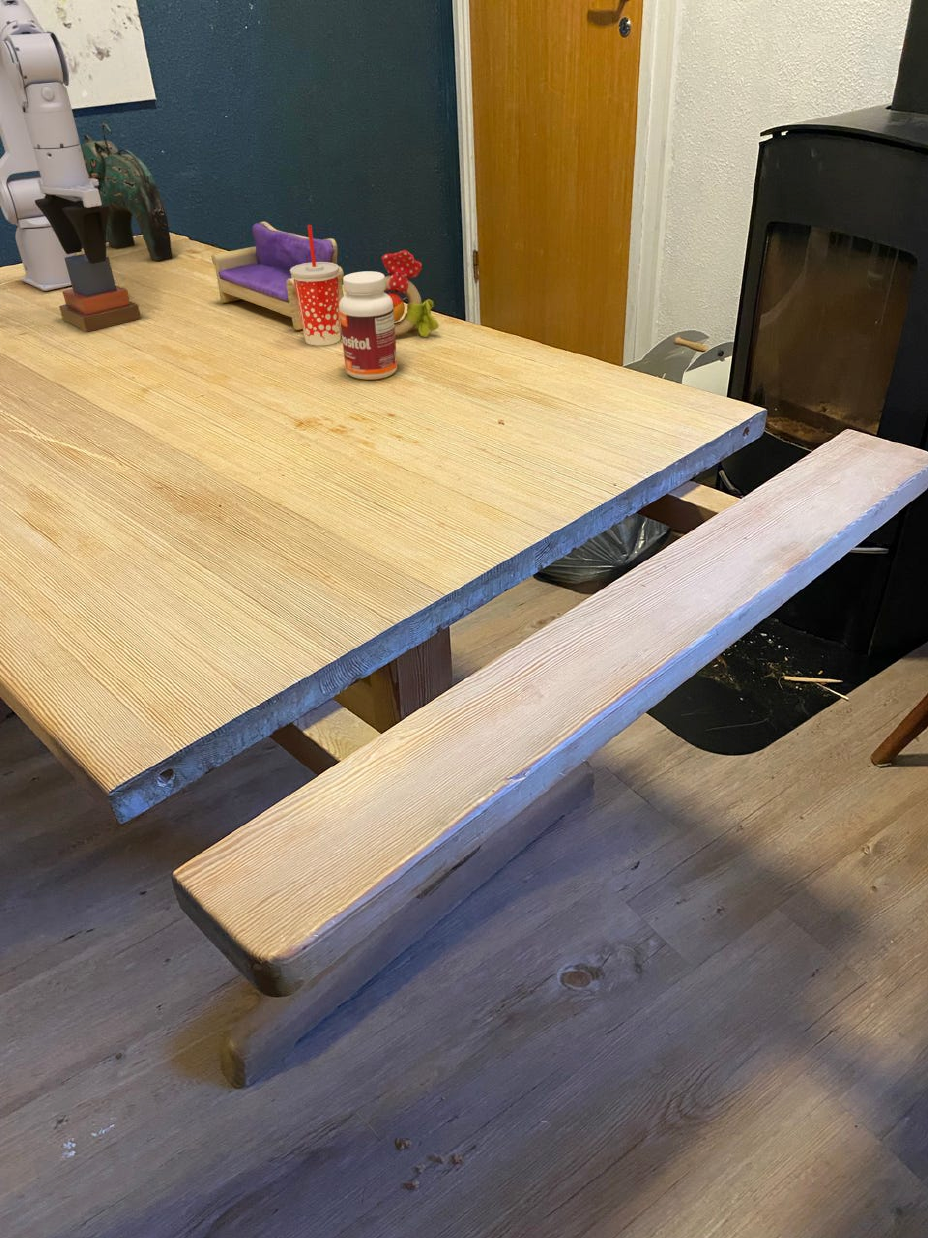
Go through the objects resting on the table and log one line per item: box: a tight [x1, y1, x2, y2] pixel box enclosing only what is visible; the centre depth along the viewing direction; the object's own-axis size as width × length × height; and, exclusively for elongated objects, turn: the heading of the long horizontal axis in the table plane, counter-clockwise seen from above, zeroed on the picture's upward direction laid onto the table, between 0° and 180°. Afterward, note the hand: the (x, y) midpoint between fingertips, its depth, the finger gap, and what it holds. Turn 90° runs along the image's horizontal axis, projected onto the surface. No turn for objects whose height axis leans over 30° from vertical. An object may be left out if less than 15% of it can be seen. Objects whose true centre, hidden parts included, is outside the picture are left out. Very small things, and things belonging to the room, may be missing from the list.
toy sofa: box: [211, 221, 345, 331], centre depth 126 cm, size 21×9×10 cm, turn 43°
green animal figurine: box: [81, 122, 173, 262], centre depth 154 cm, size 20×6×20 cm, turn 44°
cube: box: [64, 253, 117, 296], centre depth 124 cm, size 4×4×4 cm
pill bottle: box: [339, 270, 398, 381], centre depth 104 cm, size 6×6×11 cm
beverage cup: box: [290, 224, 342, 347], centre depth 114 cm, size 6×6×14 cm
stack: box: [58, 285, 142, 333], centre depth 127 cm, size 8×8×4 cm
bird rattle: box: [381, 249, 439, 338], centre depth 115 cm, size 6×11×9 cm
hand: (85, 257), depth 123 cm, fingers open, 7 cm apart
